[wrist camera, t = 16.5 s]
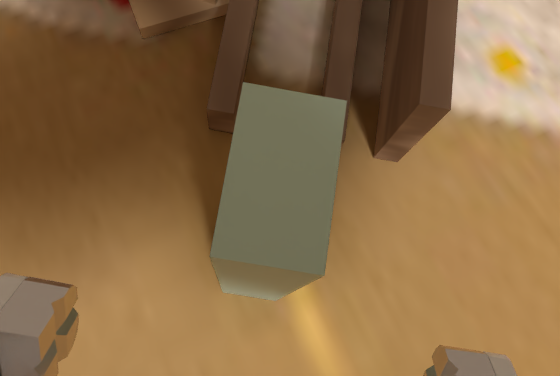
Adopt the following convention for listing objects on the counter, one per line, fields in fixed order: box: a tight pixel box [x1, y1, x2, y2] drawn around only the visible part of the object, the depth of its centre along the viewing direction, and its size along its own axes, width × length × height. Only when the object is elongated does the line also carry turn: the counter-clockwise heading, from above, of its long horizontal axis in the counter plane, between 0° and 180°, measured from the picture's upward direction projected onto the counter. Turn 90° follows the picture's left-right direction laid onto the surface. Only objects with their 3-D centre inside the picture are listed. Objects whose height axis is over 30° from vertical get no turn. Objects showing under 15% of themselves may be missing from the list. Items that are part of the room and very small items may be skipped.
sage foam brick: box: [210, 82, 347, 301], centre depth 21 cm, size 3×5×16 cm, turn 171°
